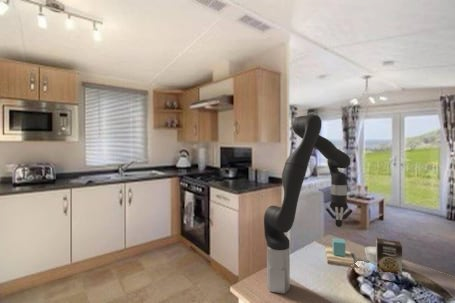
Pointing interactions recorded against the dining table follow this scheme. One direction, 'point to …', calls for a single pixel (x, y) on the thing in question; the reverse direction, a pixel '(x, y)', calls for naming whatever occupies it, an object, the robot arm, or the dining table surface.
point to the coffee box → (388, 256)
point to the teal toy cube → (338, 247)
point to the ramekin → (371, 254)
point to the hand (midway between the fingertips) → (338, 226)
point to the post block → (339, 257)
